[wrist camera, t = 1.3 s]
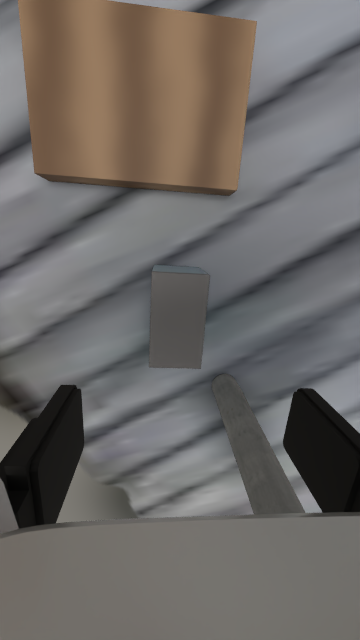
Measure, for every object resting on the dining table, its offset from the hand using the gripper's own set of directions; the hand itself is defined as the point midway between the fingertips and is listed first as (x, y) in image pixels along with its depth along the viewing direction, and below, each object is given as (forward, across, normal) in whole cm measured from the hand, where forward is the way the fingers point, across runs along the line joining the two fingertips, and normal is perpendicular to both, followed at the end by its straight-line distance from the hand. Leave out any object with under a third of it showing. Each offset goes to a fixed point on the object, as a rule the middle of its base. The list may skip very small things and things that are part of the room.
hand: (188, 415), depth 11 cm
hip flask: (+20, -10, +16) cm, 27 cm away
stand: (+19, +4, -18) cm, 27 cm away
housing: (+20, 0, 0) cm, 20 cm away
